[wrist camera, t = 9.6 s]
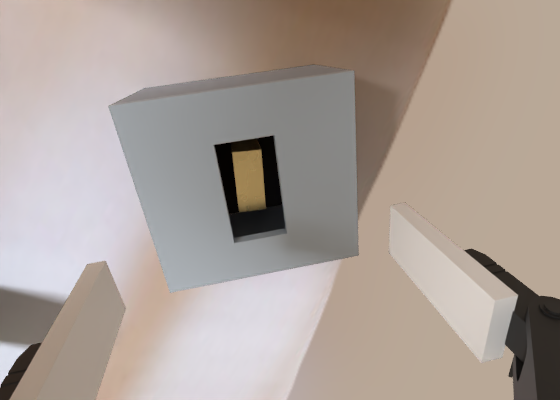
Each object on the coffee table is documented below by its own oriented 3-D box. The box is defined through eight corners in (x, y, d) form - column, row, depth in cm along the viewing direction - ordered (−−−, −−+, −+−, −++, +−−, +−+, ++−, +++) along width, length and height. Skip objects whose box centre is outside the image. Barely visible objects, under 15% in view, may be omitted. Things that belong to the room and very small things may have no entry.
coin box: (144, 88, 29) (108, 105, 20) (314, 64, 30) (354, 70, 21) (183, 229, 34) (170, 292, 25) (324, 203, 36) (358, 255, 27)
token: (229, 131, 31) (232, 152, 25) (253, 129, 31) (261, 149, 25) (235, 181, 33) (238, 212, 27) (257, 179, 34) (265, 209, 27)
